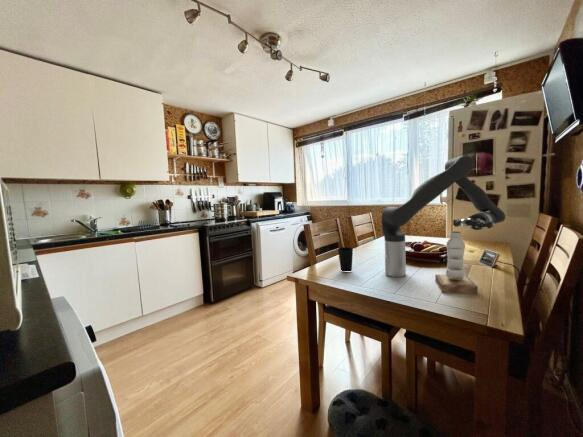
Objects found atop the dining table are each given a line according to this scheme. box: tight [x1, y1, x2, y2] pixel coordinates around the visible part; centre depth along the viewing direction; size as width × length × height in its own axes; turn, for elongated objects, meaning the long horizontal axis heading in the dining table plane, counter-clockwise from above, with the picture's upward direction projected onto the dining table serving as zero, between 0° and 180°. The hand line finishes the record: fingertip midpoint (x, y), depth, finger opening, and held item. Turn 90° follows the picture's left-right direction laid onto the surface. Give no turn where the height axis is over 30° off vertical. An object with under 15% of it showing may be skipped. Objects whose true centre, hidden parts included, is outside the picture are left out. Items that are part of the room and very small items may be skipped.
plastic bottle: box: [445, 230, 466, 281], centre depth 103 cm, size 6×7×20 cm
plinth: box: [434, 274, 479, 295], centre depth 105 cm, size 12×12×3 cm
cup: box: [337, 246, 354, 271], centre depth 133 cm, size 8×8×12 cm
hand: (466, 225), depth 108 cm, fingers open, 8 cm apart
